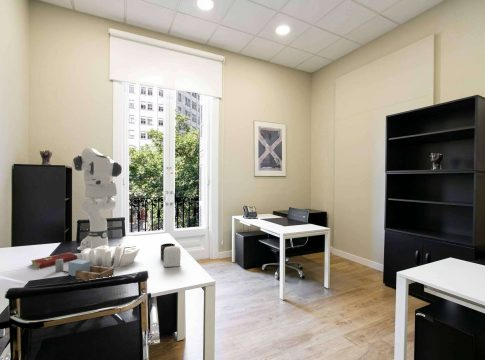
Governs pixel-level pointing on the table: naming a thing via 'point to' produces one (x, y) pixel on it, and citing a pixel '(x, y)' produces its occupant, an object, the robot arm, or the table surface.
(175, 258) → the photo printer
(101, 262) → the wavy white extrusion
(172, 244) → the mug
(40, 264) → the hardcover book
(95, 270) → the wooden tray
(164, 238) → the table surface
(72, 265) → the tethered block
